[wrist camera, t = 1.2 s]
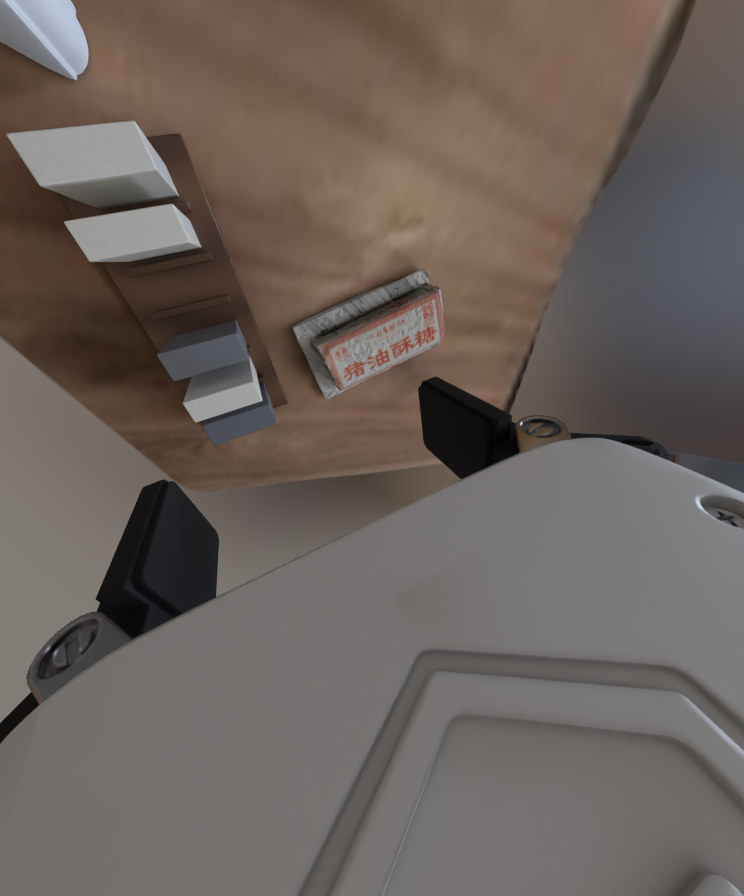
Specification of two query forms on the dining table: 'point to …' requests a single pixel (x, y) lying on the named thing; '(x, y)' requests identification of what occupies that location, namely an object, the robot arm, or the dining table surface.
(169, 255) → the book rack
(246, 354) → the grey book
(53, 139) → the white book
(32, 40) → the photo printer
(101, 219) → the white book
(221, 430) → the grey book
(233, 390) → the white book
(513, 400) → the dining table surface
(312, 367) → the packaged product
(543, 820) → the robot arm
